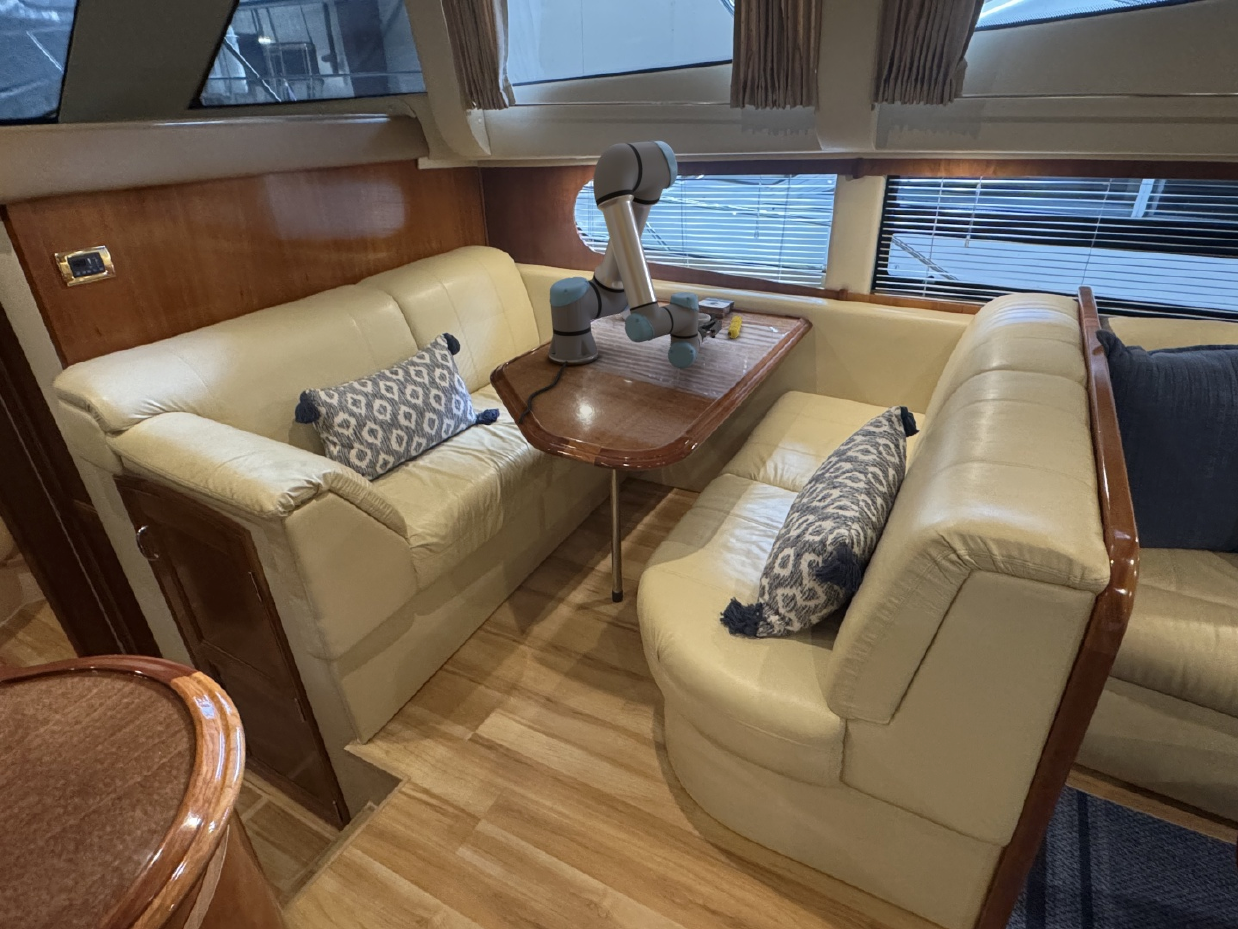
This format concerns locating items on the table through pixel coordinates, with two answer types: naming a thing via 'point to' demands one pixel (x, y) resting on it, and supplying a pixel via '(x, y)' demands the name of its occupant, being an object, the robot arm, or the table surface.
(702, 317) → the cup
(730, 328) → the yellow bumpy cylinder
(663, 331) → the robot arm
